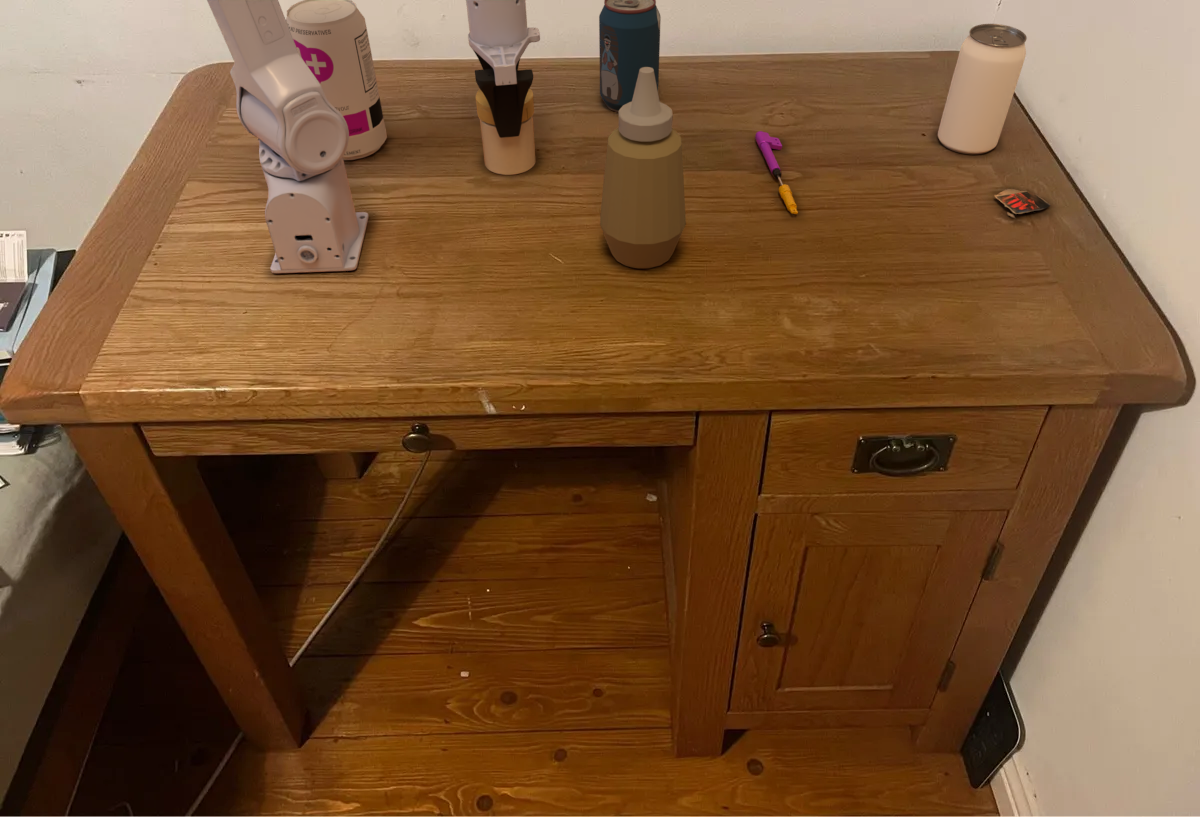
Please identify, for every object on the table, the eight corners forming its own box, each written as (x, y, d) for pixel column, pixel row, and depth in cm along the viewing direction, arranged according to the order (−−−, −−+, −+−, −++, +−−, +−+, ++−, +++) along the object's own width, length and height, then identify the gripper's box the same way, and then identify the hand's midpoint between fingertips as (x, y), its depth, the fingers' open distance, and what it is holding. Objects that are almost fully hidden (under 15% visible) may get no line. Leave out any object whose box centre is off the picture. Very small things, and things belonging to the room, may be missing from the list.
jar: (535, 174, 98) (531, 112, 93) (483, 176, 98) (476, 114, 93) (535, 148, 102) (531, 88, 97) (485, 150, 102) (479, 90, 97)
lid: (546, 109, 96) (545, 91, 95) (509, 131, 93) (508, 113, 92) (502, 94, 99) (501, 77, 98) (465, 115, 96) (463, 98, 94)
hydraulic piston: (752, 137, 103) (787, 217, 92) (756, 128, 102) (791, 207, 91) (774, 141, 103) (811, 220, 92) (778, 132, 103) (816, 211, 91)
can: (990, 128, 104) (1023, 22, 96) (1002, 157, 100) (1038, 48, 91) (932, 126, 105) (960, 20, 96) (941, 154, 100) (971, 46, 92)
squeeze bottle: (677, 282, 84) (689, 96, 72) (592, 272, 85) (588, 88, 73) (689, 233, 90) (701, 53, 77) (608, 224, 91) (607, 46, 78)
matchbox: (1053, 206, 92) (1055, 202, 92) (1019, 222, 90) (1021, 218, 90) (1015, 186, 95) (1017, 182, 95) (982, 201, 93) (983, 197, 93)
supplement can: (348, 170, 99) (317, 32, 89) (299, 148, 103) (263, 13, 92) (403, 141, 104) (379, 6, 93) (353, 120, 107) (325, -12, 97)
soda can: (662, 92, 112) (666, -9, 103) (651, 119, 107) (654, 15, 98) (607, 87, 113) (607, -14, 104) (593, 112, 108) (592, 9, 100)
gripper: (544, 14, 82) (552, 151, 92) (528, -42, 93) (537, 87, 102) (466, 20, 82) (482, 157, 91) (459, -37, 92) (473, 92, 102)
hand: (506, 120), depth 97 cm, fingers closed on lid, 6 cm apart
